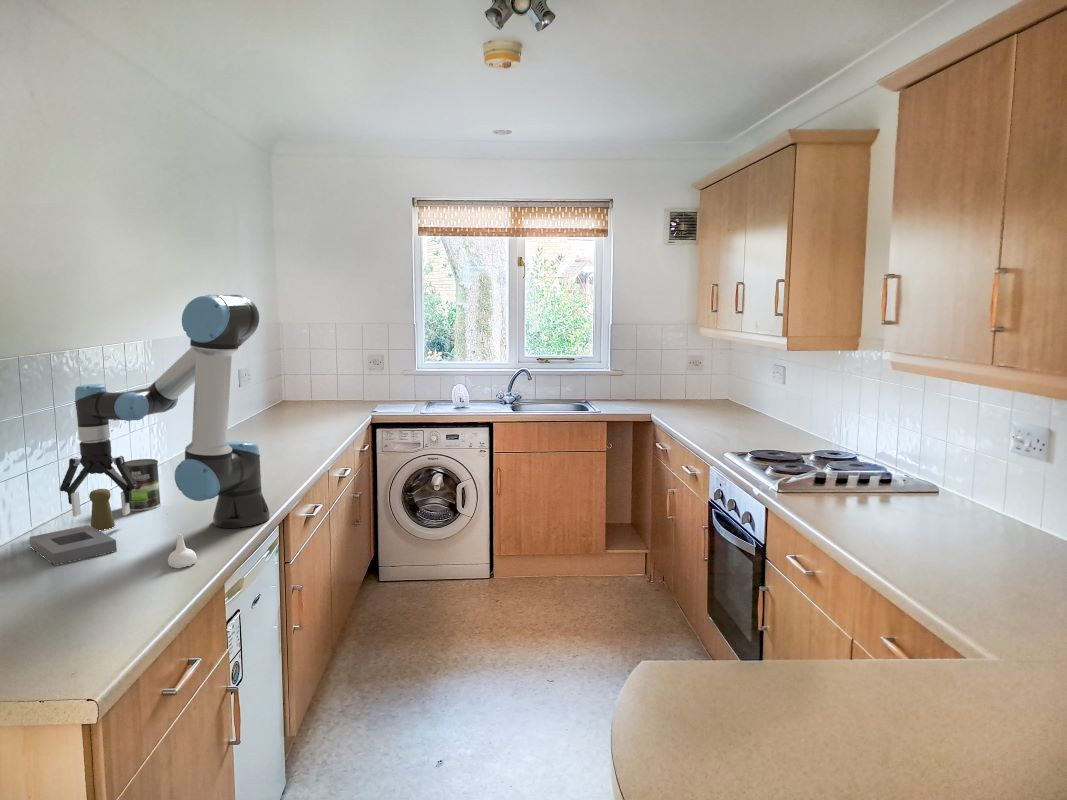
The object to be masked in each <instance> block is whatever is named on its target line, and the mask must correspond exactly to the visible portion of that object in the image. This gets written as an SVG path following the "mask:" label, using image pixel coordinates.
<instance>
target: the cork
mask: <svg viewBox="0 0 1067 800" xmlns="http://www.w3.org/2000/svg"><path fill="white" fill-rule="evenodd" d="M88 495H89V496H88V497H89V500H90V502H91V518H90V526H92V527H94V528H95V529H97V530H103V531H105V530H104V529H108V530H110V529H109V528H111V529H113V528H112V527H114V526H115V527H116V523H115V521H114V516H113V515H114V514H113V511H112V508H111V504H110V499H111V497H112V495H111V491H110V490H109V489H107V488H97V489H95V490H94V489H93V490H91V491H90V493H89V494H88ZM115 527H114V528H115Z"/></svg>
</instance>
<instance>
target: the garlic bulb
mask: <svg viewBox="0 0 1067 800" xmlns="http://www.w3.org/2000/svg"><path fill="white" fill-rule="evenodd" d="M176 536H177V538H176V546H175V547H176V548H175V550H173V551H172V552H171V553H170V554H169V556H168V558H167V563H168V566H169V567H170V566H171V567H170V568H172V567H184V566H188V565H192V564H194V563H195V562H196V563H197V559H198V558H197V554H196V552H195V551H194V550H192V549H191V548H187V547H186V544H185V543H186V542H185V541H184V536H183V533H182V532H181V533H178V534H177V535H176ZM196 563H195V564H196ZM195 564H194V565H195ZM192 566H193V565H192Z"/></svg>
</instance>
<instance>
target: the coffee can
mask: <svg viewBox="0 0 1067 800" xmlns="http://www.w3.org/2000/svg"><path fill="white" fill-rule="evenodd" d="M125 464H126V466H127V468H128V469H129V471H130V473H131V474H132V476H133V478H134V479H135V481H136V482H137V484H138V487H137V488H135V489H133V490H132V491H131V494H132V501H131V502H130V503H129V506H130V512H144V511H143V510H145V511H151V510H154V509H158V508H159V507H161V505H162V503H161V493H160V492H161V491H160V477H159V466H158V465H159V460H157V459H154V458H153V459H152V458H139V459H132V460H128V461H125ZM121 477H122V478H123V476H122V475H121ZM123 479H124V478H123ZM150 509H151V510H150Z"/></svg>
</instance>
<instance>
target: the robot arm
mask: <svg viewBox="0 0 1067 800" xmlns="http://www.w3.org/2000/svg"><path fill="white" fill-rule="evenodd" d="M259 324H260V313H259V309H258V307H257V306H256V304H255V303H254V301H252V300H251V299H250V298H248V297H245V296H244V295H241V294H205V295H201V296H198V297H195V298H193V299H192V300H190V302H188V303H187V304H186V306H185V308H184V309H183V312H182V315H181V326H182V330H183V331H184V332H185V335H186V336H187V338H189V339H190V343H189V344H190V345H189V346H190V348H189V349H188V350H187V351H185V352H184V354H182V355H181V356H180V357H179V358H178V359H177V360H176V361H175V362H174V363H173V364H172V365H171V366H169V367H168V369H166V370H165V372H164V373H162V374H161V375H160V376H159V377H158V378H156V380H155V381H154V382H152V383H151V384H150V385H149V386H148V387H146V388H140V389H135V390H129V391H121V392H111V391H110V392H108V390H107V388H106V385H105V384H102V383H89V384H82V385H81V384H80V385H78V386H76V387H75V389H74V404H75V409H76V411H75V412H76V419H77V431H78V440H79V441H80V442H79V453H80V458H79V457H77V456H74V457H72V458H69V460H68V468H67V470H66V473H65V475H64V477H63V481H62V482H61V485H60V487H59V491H60V492H65V493H67V496H68V497H67V498H68V500H67V501H68V504H69V505H71V508H72V517H73V518H74V517H79V515H81V514H82V512H81V499H80V491H79V490H77V489H78V488H79V486H80V485H81V484H82V483H83V481H85V479H86V477H87V476H88V475H89V474H90V475H94V474H101V475H102V474H105V475H106V476H108V477H109V478H110V480H112V481H113V482H114V483H115V484H116V486H118V487H119V488H120V489H121V490H122V491H121V492H120V499H121V511H122V516H127V515H129V514H130V513H131V511H130V506H129V503H130V502H131V501H132V494H131V491H132V490H133V489H135V488H137V487H138V484H137V482H136V481H135V479H134V478H133V476H132V474H131V473H130V471H129V469H128V468H127V466H126V464H125V462H126V461H125V458H124V456H122V455H120V456H118V457H117V456H116V457H113V456H112V444H111V440H110V437H111V435H110V433H111V432H110V422H109V421H110V420H112V421H113V420H115V421H127V422H132V421H140V420H143V419H144V417H145V416H148V415H153V414H158V413H159V414H160V413H165V412H167V411H170V410H172V409H174V408H175V407H176V406H177V404H178V401H179V397H180V396H181V395H183V394H184V392H187V391H186V390H188V389H189V388H190V387H191V386H192V385H193V384H194V390H193V391H194V392H193V393H194V394H193V412H192V413H193V415H192V433H191V442H190V443H188V445H186V446H185V447H184V448H185V449H184V450H185V451H184V460H181V461H180V462H179V464H178V465H177V466H176V468H175V470H174V481H175V484H176V487H177V488H178V490H179V492H180V491H181V493H182V495H183V496H184V497H186V498H187V499H188V500H192V501H195V502H203V501H207V500H212V499H215V498H216V497H218V498H217V500H216V504H215V508H214V512H213V517H212V518H213V520H212V521H213V525H214V526H215V525H216V526H215V527H217V526H218V528H222V527H223V528H222V529H224V528H225V529H239V528H240V527H242V528H247V527H246V526H249V527H252V526H251V525H254V526H257V525H256V524H258V525H260V524H259V523H261V524H264V523H266V522H267V521H269V519H270V508H269V507H268V504H267V501H266V500H265V497H264V495H263V491H262V476H261V475H262V472H261V460H260V459H261V458H260V457H261V454H260V450H259V445H258V444H257V443H256V442H254V441H228V428H229V427H228V426H229V411H230V410H229V409H230V407H229V406H230V392H231V378H232V377H231V375H232V374H231V373H232V360H233V359H232V357H233V354H234V353H236V352H237V351H238V350H239V347H241V346H242V345H243V344H244V343H246V341H248V340H249V339H250V338H251V337H252V335H254V334H255V332H256V331H257V329H258V327H259ZM112 464H114V465H115V466H116V468H115V467H114V466H113V465H112ZM80 465H81V466H82V467H83V468H82V469H81V471H79V474H78V475H77V476H76V478H75V479H74V477H75V474H76V473H77V470H78V467H79V466H80ZM116 469H117V470H118V471H119V473H118V472H117V471H116ZM122 476H123V478H124V479H123V478H122ZM73 479H74V480H73ZM72 481H73V482H72ZM265 521H266V522H265ZM263 522H264V523H263Z"/></svg>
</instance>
